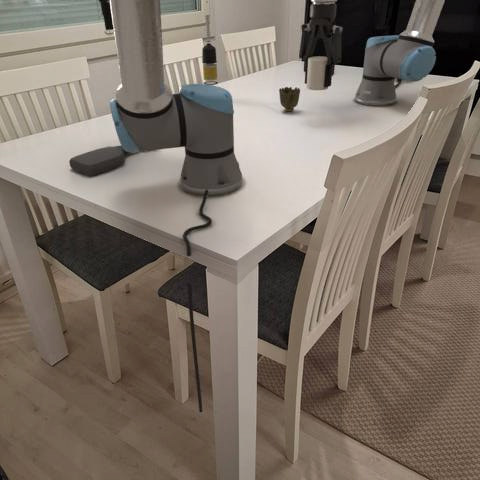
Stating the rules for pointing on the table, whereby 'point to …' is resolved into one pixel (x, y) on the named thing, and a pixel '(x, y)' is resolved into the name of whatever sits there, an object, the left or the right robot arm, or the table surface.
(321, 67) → the canister
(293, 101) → the cup
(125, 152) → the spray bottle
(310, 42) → the right robot arm
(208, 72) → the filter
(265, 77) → the table surface
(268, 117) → the table surface
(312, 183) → the table surface
